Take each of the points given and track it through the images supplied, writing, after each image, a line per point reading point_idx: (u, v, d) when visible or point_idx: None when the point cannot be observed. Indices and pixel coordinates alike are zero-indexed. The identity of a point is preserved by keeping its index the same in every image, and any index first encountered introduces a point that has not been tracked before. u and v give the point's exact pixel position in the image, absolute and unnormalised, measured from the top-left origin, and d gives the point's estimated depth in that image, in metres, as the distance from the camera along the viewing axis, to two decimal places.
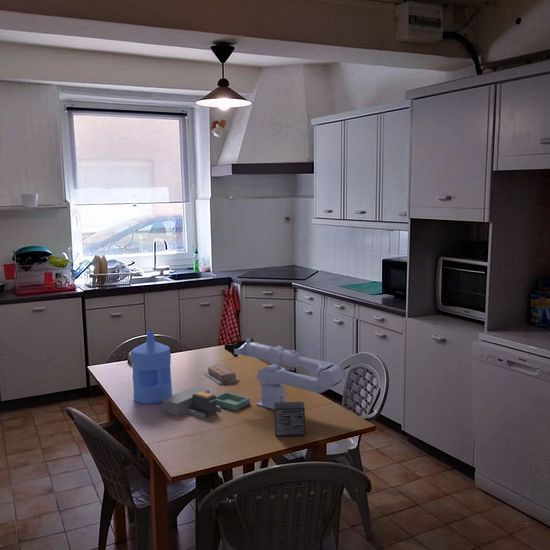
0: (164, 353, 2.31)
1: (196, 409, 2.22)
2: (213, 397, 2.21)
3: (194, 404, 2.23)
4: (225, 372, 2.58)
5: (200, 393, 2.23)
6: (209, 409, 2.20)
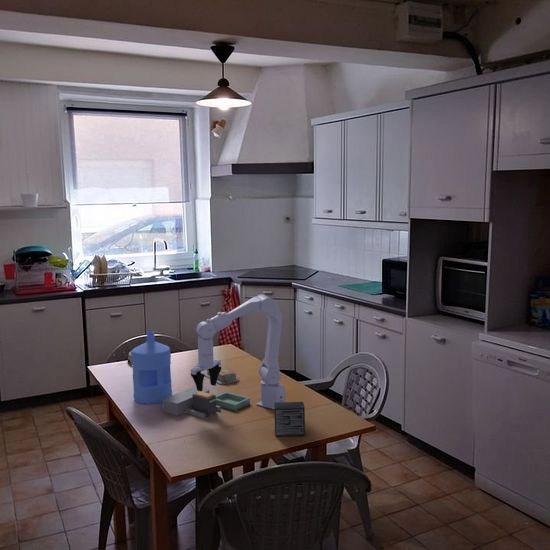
0: (164, 353, 2.31)
1: (196, 409, 2.22)
2: (213, 397, 2.21)
3: (194, 404, 2.23)
4: (225, 372, 2.58)
5: (200, 393, 2.23)
6: (209, 409, 2.20)
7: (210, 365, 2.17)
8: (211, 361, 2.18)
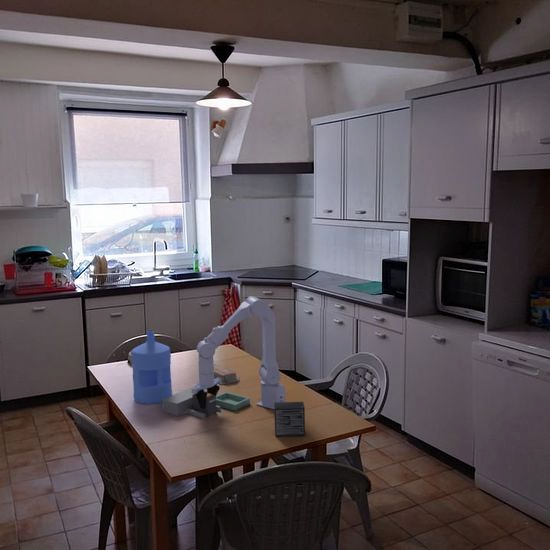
0: (164, 353, 2.31)
1: (196, 409, 2.22)
2: (213, 397, 2.21)
3: (194, 404, 2.23)
4: (225, 372, 2.58)
5: None
6: (209, 409, 2.20)
7: (211, 384, 2.18)
8: (212, 380, 2.19)
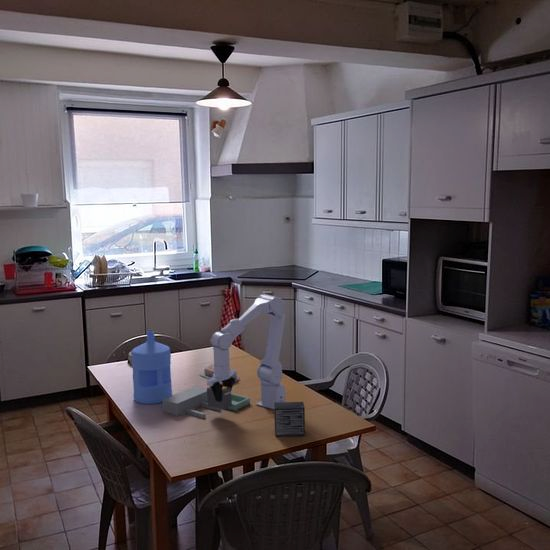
0: (164, 353, 2.31)
1: (211, 403, 2.17)
2: (228, 389, 2.16)
3: (209, 398, 2.18)
4: None
5: None
6: (225, 402, 2.14)
7: (226, 376, 2.13)
8: (227, 372, 2.13)
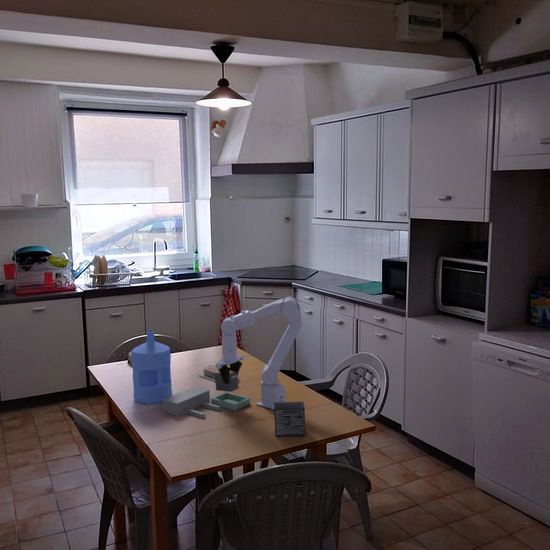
0: (164, 353, 2.31)
1: (219, 387, 2.30)
2: (234, 373, 2.29)
3: (217, 382, 2.31)
4: None
5: None
6: (232, 385, 2.27)
7: (234, 360, 2.26)
8: (235, 356, 2.26)
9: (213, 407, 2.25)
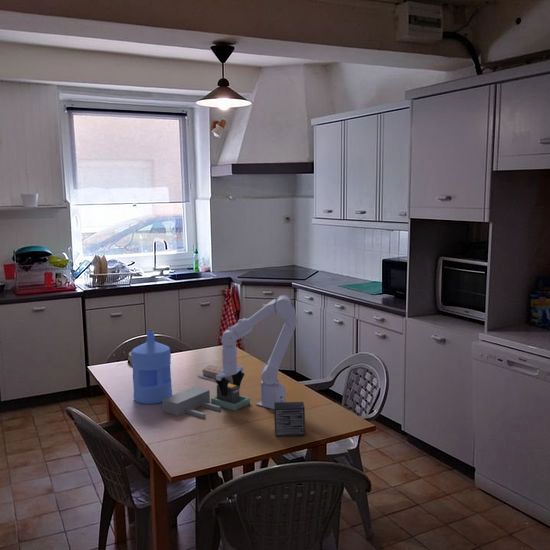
0: (164, 353, 2.31)
1: (220, 399, 2.31)
2: (237, 388, 2.29)
3: (218, 394, 2.31)
4: None
5: None
6: (233, 399, 2.28)
7: (234, 371, 2.27)
8: (235, 367, 2.27)
9: (213, 407, 2.25)
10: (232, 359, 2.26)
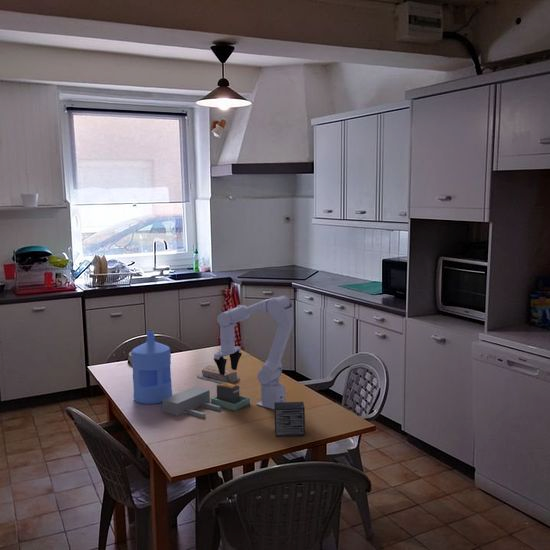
0: (164, 353, 2.31)
1: (220, 399, 2.31)
2: (237, 388, 2.29)
3: (218, 394, 2.31)
4: (226, 372, 2.59)
5: (224, 384, 2.31)
6: (233, 399, 2.28)
7: (232, 351, 2.35)
8: (233, 347, 2.35)
9: (213, 407, 2.25)
10: (227, 339, 2.33)
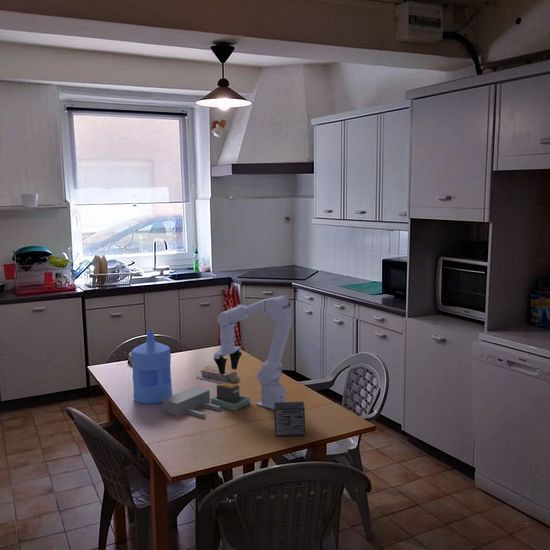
0: (164, 353, 2.31)
1: (220, 399, 2.31)
2: (237, 388, 2.29)
3: (218, 394, 2.31)
4: (226, 372, 2.59)
5: (224, 384, 2.31)
6: (233, 399, 2.28)
7: (232, 350, 2.36)
8: (232, 347, 2.36)
9: (213, 407, 2.25)
10: (226, 338, 2.34)
